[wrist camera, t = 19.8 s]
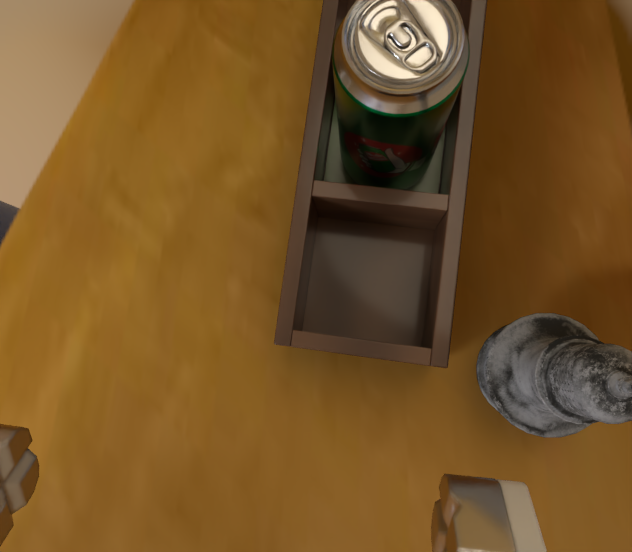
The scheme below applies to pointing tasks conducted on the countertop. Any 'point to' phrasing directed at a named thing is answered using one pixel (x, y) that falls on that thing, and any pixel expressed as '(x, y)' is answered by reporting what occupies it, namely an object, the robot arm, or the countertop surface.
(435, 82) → the soda can
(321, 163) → the wooden compartment tray
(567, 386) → the grey stacked stone piece
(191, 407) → the countertop surface
